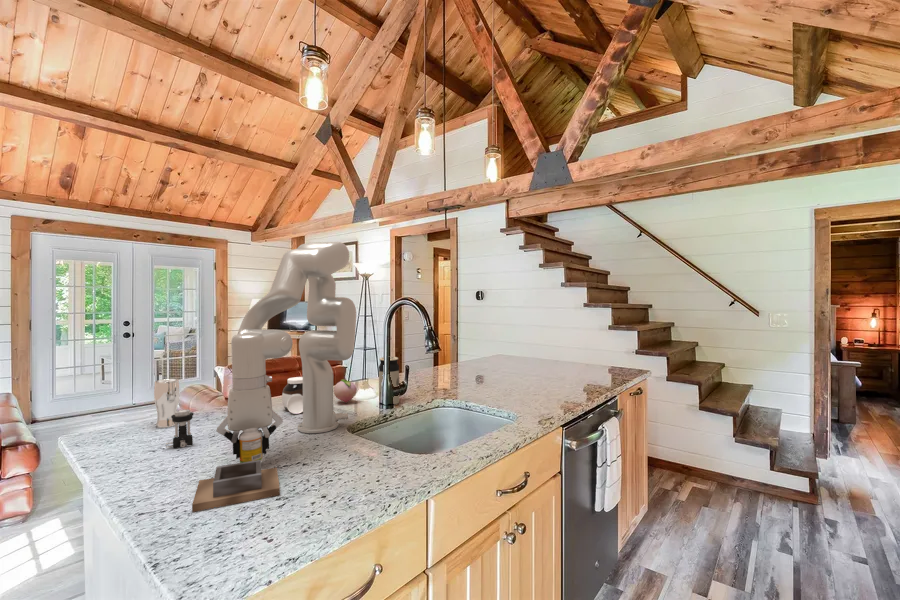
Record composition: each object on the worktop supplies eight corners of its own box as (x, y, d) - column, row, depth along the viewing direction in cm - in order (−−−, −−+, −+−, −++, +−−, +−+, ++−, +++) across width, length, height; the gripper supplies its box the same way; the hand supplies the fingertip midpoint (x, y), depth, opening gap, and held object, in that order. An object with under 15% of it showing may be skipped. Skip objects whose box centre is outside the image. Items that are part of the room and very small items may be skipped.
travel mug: (375, 404, 163) (375, 359, 163) (385, 399, 170) (385, 356, 170) (393, 406, 160) (392, 360, 160) (402, 401, 167) (402, 357, 167)
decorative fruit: (329, 402, 166) (329, 377, 166) (348, 399, 172) (347, 375, 171) (341, 407, 159) (340, 381, 159) (359, 403, 165) (359, 378, 165)
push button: (165, 451, 114) (165, 415, 113) (165, 446, 118) (165, 411, 118) (194, 446, 117) (193, 411, 117) (193, 441, 122) (193, 407, 122)
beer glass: (184, 423, 139) (184, 379, 139) (164, 429, 133) (164, 383, 133) (169, 421, 142) (169, 377, 141) (149, 427, 135) (148, 381, 135)
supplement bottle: (245, 457, 106) (243, 420, 106) (266, 456, 107) (265, 419, 106) (235, 466, 101) (234, 427, 100) (258, 465, 101) (257, 426, 101)
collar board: (276, 473, 99) (276, 454, 99) (279, 495, 88) (279, 474, 88) (199, 487, 92) (199, 467, 92) (192, 512, 81) (192, 489, 81)
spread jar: (302, 404, 163) (302, 375, 163) (320, 409, 156) (320, 378, 156) (274, 411, 153) (274, 380, 153) (292, 416, 147) (292, 384, 147)
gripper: (285, 376, 110) (286, 443, 111) (211, 383, 103) (213, 455, 103) (287, 382, 103) (289, 453, 104) (208, 390, 96) (210, 467, 96)
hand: (251, 453), depth 104 cm, fingers closed on supplement bottle, 5 cm apart
